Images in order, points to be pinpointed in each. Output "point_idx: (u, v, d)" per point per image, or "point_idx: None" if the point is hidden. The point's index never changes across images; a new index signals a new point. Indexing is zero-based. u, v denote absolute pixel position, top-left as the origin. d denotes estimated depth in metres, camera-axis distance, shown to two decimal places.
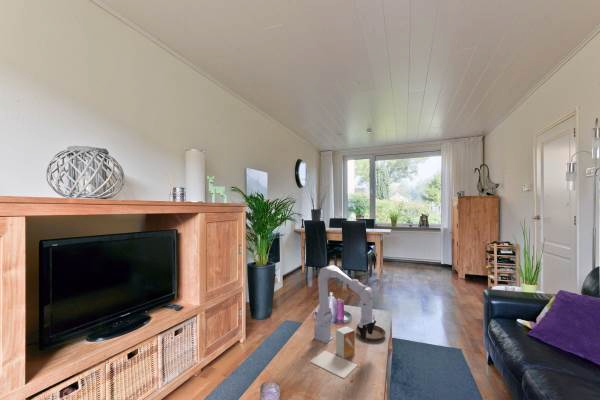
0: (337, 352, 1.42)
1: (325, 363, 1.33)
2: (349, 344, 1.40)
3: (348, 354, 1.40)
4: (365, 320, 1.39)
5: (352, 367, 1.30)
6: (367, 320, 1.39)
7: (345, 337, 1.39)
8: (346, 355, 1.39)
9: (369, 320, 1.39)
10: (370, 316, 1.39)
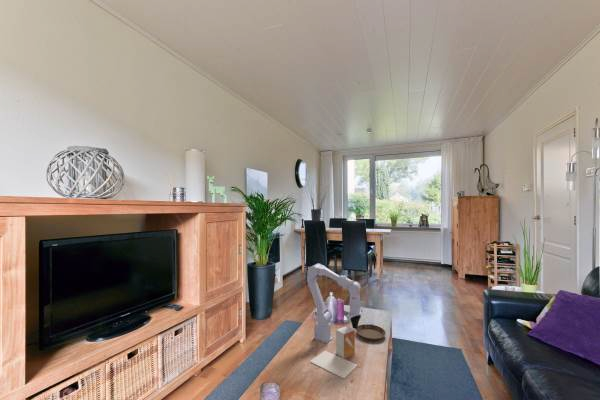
0: (337, 352, 1.42)
1: (325, 363, 1.33)
2: (349, 344, 1.40)
3: (348, 354, 1.40)
4: (353, 313, 1.48)
5: (352, 367, 1.30)
6: (355, 313, 1.48)
7: (345, 337, 1.38)
8: (346, 355, 1.39)
9: (357, 313, 1.48)
10: (358, 309, 1.48)
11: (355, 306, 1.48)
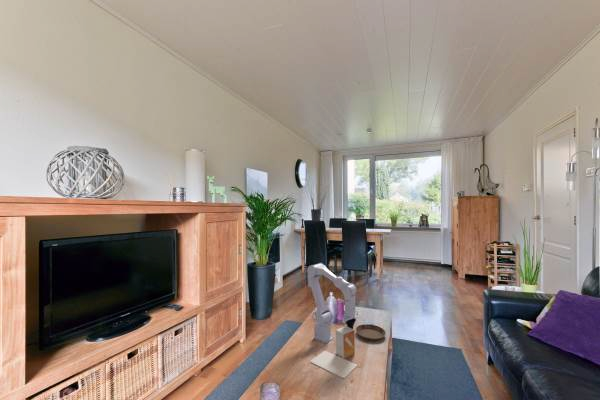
0: (337, 352, 1.42)
1: (325, 363, 1.33)
2: (349, 344, 1.40)
3: (348, 354, 1.40)
4: (348, 316, 1.44)
5: (352, 367, 1.30)
6: (350, 316, 1.44)
7: (345, 337, 1.38)
8: (346, 355, 1.39)
9: (352, 316, 1.44)
10: (353, 312, 1.44)
11: (350, 309, 1.44)
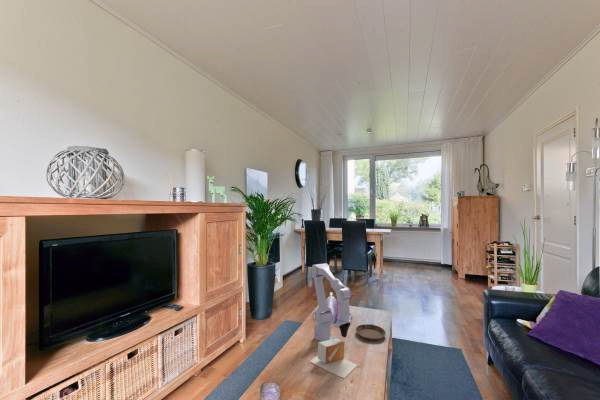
0: None
1: None
2: (335, 352, 1.35)
3: (342, 351, 1.37)
4: (342, 320, 1.39)
5: (352, 367, 1.30)
6: (344, 320, 1.39)
7: (328, 360, 1.32)
8: (342, 354, 1.37)
9: (346, 320, 1.39)
10: (347, 316, 1.39)
11: (344, 313, 1.39)
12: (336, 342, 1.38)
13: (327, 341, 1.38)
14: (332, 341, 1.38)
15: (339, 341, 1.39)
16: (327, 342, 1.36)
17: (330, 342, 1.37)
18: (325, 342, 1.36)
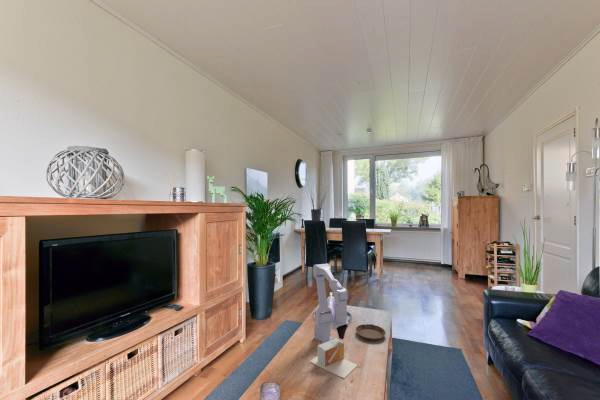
0: None
1: None
2: (334, 354, 1.34)
3: (341, 352, 1.37)
4: (339, 322, 1.37)
5: (352, 367, 1.30)
6: (341, 322, 1.37)
7: (328, 363, 1.32)
8: (342, 355, 1.37)
9: (343, 322, 1.37)
10: (344, 318, 1.37)
11: (341, 315, 1.37)
12: (335, 344, 1.37)
13: (326, 343, 1.37)
14: (332, 343, 1.37)
15: (338, 342, 1.38)
16: (326, 345, 1.35)
17: (329, 344, 1.36)
18: (325, 345, 1.35)
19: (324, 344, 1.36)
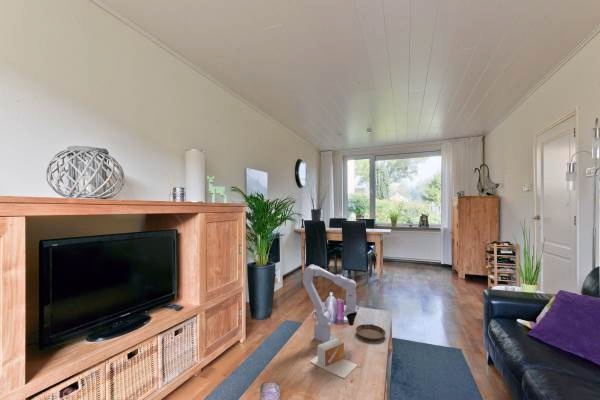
0: None
1: None
2: (334, 354, 1.34)
3: (341, 352, 1.37)
4: (349, 310, 1.51)
5: (352, 367, 1.30)
6: (351, 310, 1.51)
7: (328, 363, 1.32)
8: (342, 355, 1.37)
9: (353, 310, 1.51)
10: (354, 306, 1.52)
11: (351, 303, 1.51)
12: (335, 344, 1.37)
13: (326, 343, 1.37)
14: (332, 343, 1.37)
15: (338, 342, 1.38)
16: (326, 345, 1.35)
17: (329, 344, 1.36)
18: (325, 345, 1.35)
19: (324, 344, 1.36)
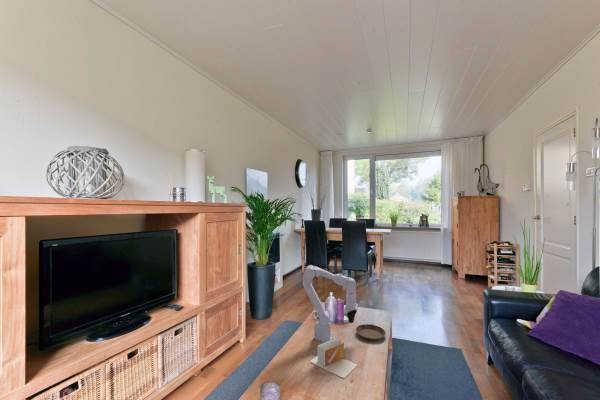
0: None
1: None
2: (334, 354, 1.34)
3: (341, 352, 1.37)
4: (349, 307, 1.55)
5: (352, 367, 1.30)
6: (351, 307, 1.55)
7: (328, 363, 1.32)
8: (342, 355, 1.37)
9: (353, 307, 1.55)
10: (354, 304, 1.55)
11: (351, 301, 1.55)
12: (335, 344, 1.37)
13: (326, 343, 1.37)
14: (332, 343, 1.37)
15: (338, 342, 1.38)
16: (326, 345, 1.35)
17: (329, 344, 1.36)
18: (325, 345, 1.35)
19: (324, 344, 1.36)
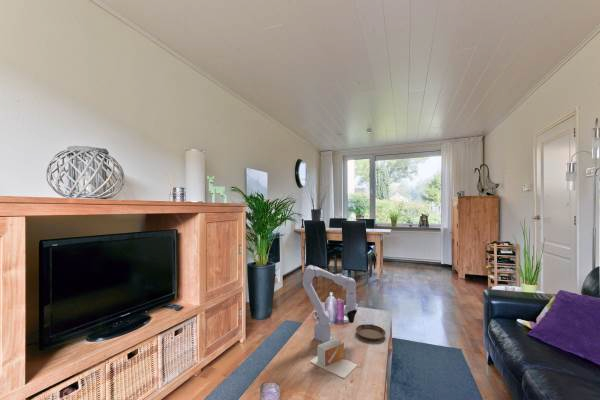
0: None
1: None
2: (334, 354, 1.34)
3: (341, 352, 1.37)
4: (349, 307, 1.55)
5: (352, 367, 1.30)
6: (351, 307, 1.55)
7: (328, 363, 1.32)
8: (342, 355, 1.37)
9: (353, 307, 1.55)
10: (354, 304, 1.55)
11: (351, 301, 1.55)
12: (335, 344, 1.37)
13: (326, 343, 1.37)
14: (332, 343, 1.37)
15: (338, 342, 1.38)
16: (326, 345, 1.35)
17: (329, 344, 1.36)
18: (325, 345, 1.35)
19: (324, 344, 1.36)
